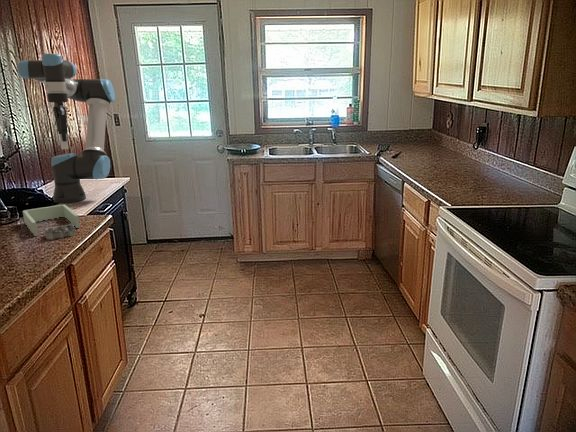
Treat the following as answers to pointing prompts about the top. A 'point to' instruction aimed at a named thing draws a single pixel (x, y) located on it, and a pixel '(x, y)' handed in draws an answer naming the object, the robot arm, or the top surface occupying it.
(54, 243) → the top surface
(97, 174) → the robot arm
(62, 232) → the egg carton
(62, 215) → the u-shaped frame
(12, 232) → the top surface
